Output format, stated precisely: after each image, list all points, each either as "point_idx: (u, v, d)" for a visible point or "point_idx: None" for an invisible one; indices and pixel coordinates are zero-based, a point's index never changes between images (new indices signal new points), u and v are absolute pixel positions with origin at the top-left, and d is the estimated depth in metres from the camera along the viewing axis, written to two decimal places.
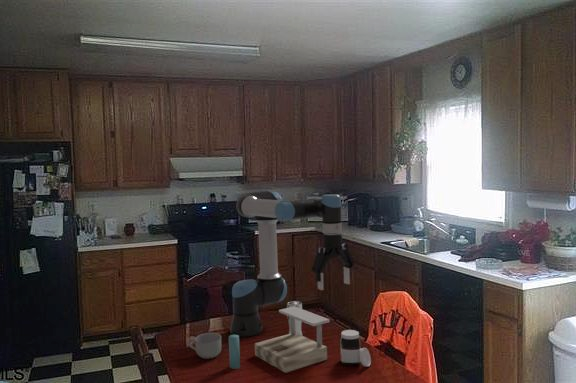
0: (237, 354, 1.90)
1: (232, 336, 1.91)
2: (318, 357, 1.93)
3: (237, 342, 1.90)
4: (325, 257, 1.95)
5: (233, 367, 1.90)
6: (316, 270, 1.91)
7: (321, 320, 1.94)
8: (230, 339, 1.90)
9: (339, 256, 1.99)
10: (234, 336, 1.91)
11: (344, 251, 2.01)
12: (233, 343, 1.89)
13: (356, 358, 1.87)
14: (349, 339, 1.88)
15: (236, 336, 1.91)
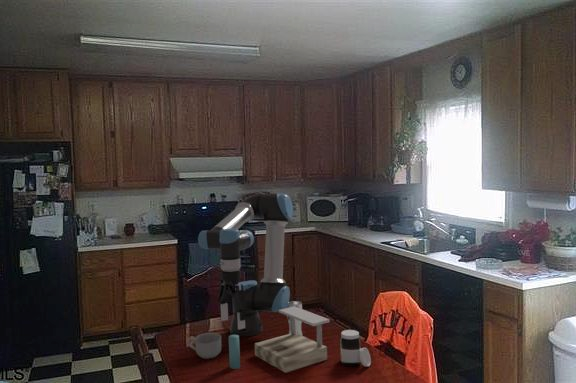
0: (237, 354, 1.90)
1: (232, 336, 1.91)
2: (318, 357, 1.93)
3: (237, 342, 1.90)
4: None
5: (233, 367, 1.90)
6: (218, 299, 1.98)
7: (321, 320, 1.94)
8: (230, 339, 1.90)
9: None
10: (234, 336, 1.91)
11: None
12: (233, 343, 1.89)
13: (356, 358, 1.87)
14: (349, 339, 1.88)
15: (236, 336, 1.91)
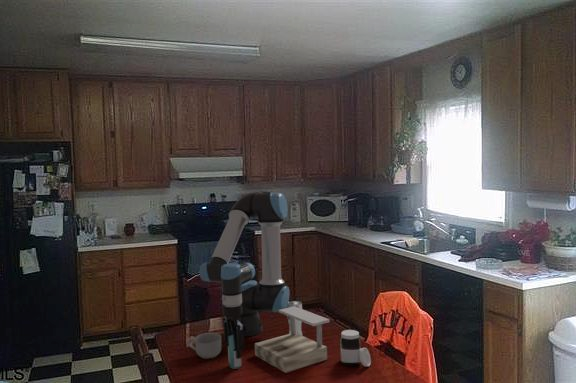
0: None
1: (232, 336, 1.91)
2: (318, 357, 1.93)
3: None
4: None
5: (233, 367, 1.90)
6: (225, 340, 1.95)
7: (321, 320, 1.94)
8: (230, 339, 1.90)
9: None
10: None
11: None
12: (233, 343, 1.89)
13: (356, 358, 1.87)
14: (349, 339, 1.88)
15: None
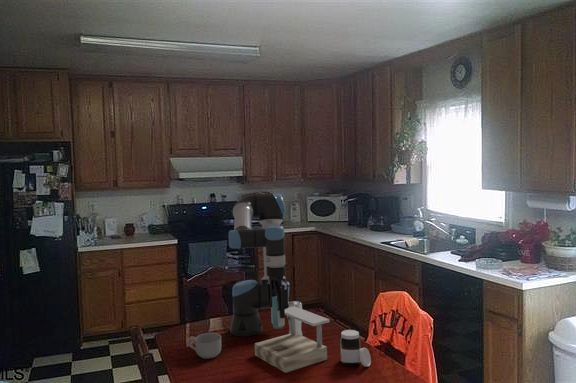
0: None
1: (275, 297, 1.95)
2: (318, 357, 1.93)
3: None
4: None
5: (277, 327, 1.94)
6: (267, 302, 1.99)
7: (321, 320, 1.94)
8: (274, 299, 1.94)
9: None
10: None
11: None
12: (277, 303, 1.93)
13: (356, 358, 1.87)
14: (349, 339, 1.88)
15: None
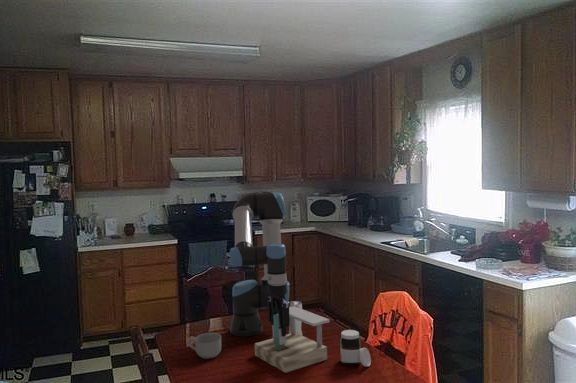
0: None
1: (277, 314, 1.96)
2: (318, 357, 1.93)
3: None
4: None
5: (278, 345, 1.94)
6: (269, 319, 1.99)
7: (321, 320, 1.94)
8: (275, 317, 1.94)
9: None
10: None
11: None
12: (278, 321, 1.94)
13: (356, 358, 1.87)
14: (349, 339, 1.88)
15: None
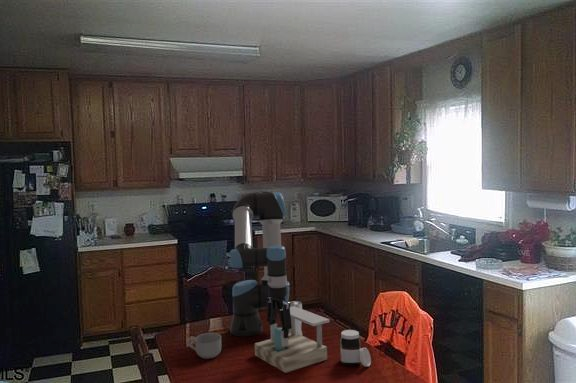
0: None
1: (278, 329, 1.96)
2: (318, 357, 1.93)
3: None
4: None
5: None
6: (267, 319, 2.00)
7: (321, 320, 1.94)
8: (276, 332, 1.94)
9: None
10: (280, 329, 1.96)
11: None
12: (279, 336, 1.94)
13: (356, 358, 1.87)
14: (349, 339, 1.88)
15: None
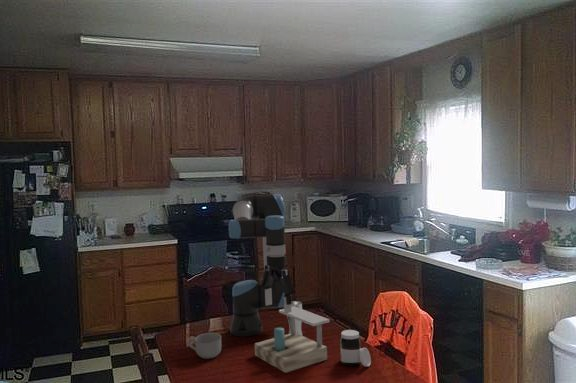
0: (283, 346, 1.95)
1: (277, 329, 1.96)
2: (318, 357, 1.93)
3: (283, 335, 1.95)
4: None
5: None
6: (261, 284, 2.02)
7: (321, 320, 1.94)
8: (276, 332, 1.94)
9: None
10: (279, 329, 1.96)
11: None
12: (279, 336, 1.94)
13: (356, 358, 1.87)
14: (349, 339, 1.88)
15: (281, 329, 1.96)
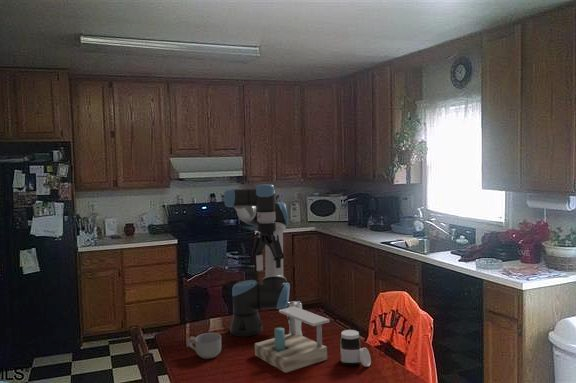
0: (283, 346, 1.95)
1: (278, 329, 1.96)
2: (318, 357, 1.93)
3: (283, 335, 1.95)
4: None
5: None
6: (253, 251, 2.12)
7: (321, 320, 1.94)
8: (276, 332, 1.94)
9: None
10: (280, 329, 1.96)
11: None
12: (279, 336, 1.94)
13: (356, 358, 1.87)
14: (349, 339, 1.88)
15: (282, 329, 1.96)
